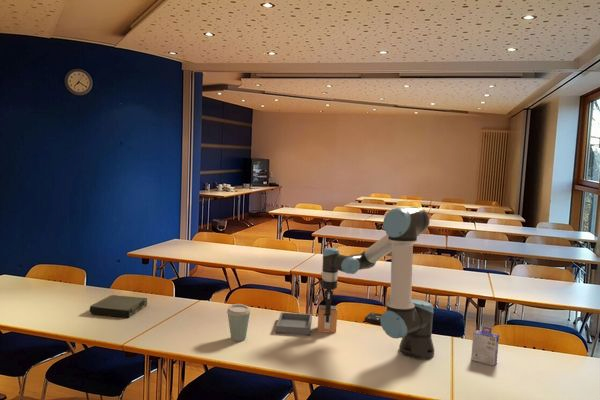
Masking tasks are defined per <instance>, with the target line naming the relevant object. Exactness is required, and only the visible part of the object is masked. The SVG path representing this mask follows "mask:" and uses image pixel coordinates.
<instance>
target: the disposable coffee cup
mask: <svg viewBox="0 0 600 400" xmlns="http://www.w3.org/2000/svg"><path fill="white" fill-rule="evenodd" d="M226 313H227V319H228V325H229V333H230V338H231V340H232V341H233V342H243V341H245V340H246V338H247V332H248V328H249V327H248V326H249V321H250V314H251V308H250V307H249V306H248V305H245V304H242V303H235V304H231V305H228V308H227V311H226Z"/></svg>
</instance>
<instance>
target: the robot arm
mask: <svg viewBox="0 0 600 400" xmlns="http://www.w3.org/2000/svg"><path fill="white" fill-rule="evenodd" d="M382 223H383V224H382V227H383V230H384V231H385V235H384V236H383V237H381V238H379V240H377V241H376V242H374V243H373V244H372V245H370V246H369V247H368V248H366V249H365V250H364V251H363V252H360V253H356V254H351V255H343V254H340V250H339V248H336V247H325V248H324V249H323V253H322V268H321V269H322V272H321V273H320V275H321V278H322V280H321V288H322V289H325V290H324V301H325V305H326V309H325V314H324V315H325V322H324V328H325V329H330V316H331V314H330V311H331V306H332V301H333V296H334V290H336V289H337V288H338V278H339V271H340V272H343V273H345V274H349V275H350V274H351V275H355V274H356V273H357V272H358V271H360V270H361V271H362V270H368V269H371V268H374V267H375V265H376V264H377V262H378V261H380V260H381V259H382V258H384V257H386V256H387V255H388V254H390V253H391V260H390V261H391V263H390V264H391V265H390V266H391V267H390V296H389V297H390V299H389V300H388V301H387V302H386V307H385V310H386V311H384V312H383V313H382V316H381V325H380V327H381V328H382V330H383V331H384V333H385V334H386V335H387V336H388V337H390V338H392V339H400V338H401V339H400V343H399V347H398V351H399V353H401V354H402V356H405V357H409V358H411V359H416V360H428V359H431V358H434V356H435V347H434V343H433V339H432V335H433V334H432V333H433V332H432V331H433V323H434V322H433V321H434V320H433V319H434V306H433V304H432V303H430V302H428V301H425V300H421V299H413V298H412V291H413V290H412V287H413V284H412V283H413V254H414V251H413V250H414V249H413V248H414V245H415V243H416V242H417V241H418V237H419V236H420V235H422V234H423V233H425V232H426V231H427V230H428V228H429V225H430V215H429V214H428V212H427V211H426V210H425V209H423V208H422V207H419V206H418V207H417V206H410V207H397V208H393V209H391V210H389V211H388V212H387V213H385V216H384V217H383V222H382Z"/></svg>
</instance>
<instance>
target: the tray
mask: <svg viewBox="0 0 600 400" xmlns="http://www.w3.org/2000/svg"><path fill="white" fill-rule="evenodd" d="M312 321H313V314H311V313H299V312H297V313H296V312H283V311H280V314H279V317H278V319H277V323H276V326H275V327H276V328H275V333H276V334H288V335H298V334H301V335H300V336H310V335H311V328H312Z"/></svg>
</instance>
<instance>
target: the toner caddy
mask: <svg viewBox="0 0 600 400" xmlns="http://www.w3.org/2000/svg"><path fill="white" fill-rule="evenodd" d="M325 309H326V304H325V305H323V304H319V305H318V312H317V313H318V316H317V332H319V331H327V332H326V333H332V332H336V333H337V325H338V323H337V322H338V306H337V305H331V311H330V314H331V316H330V329H325V328H324V322H325V315H324V314H325Z"/></svg>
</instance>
